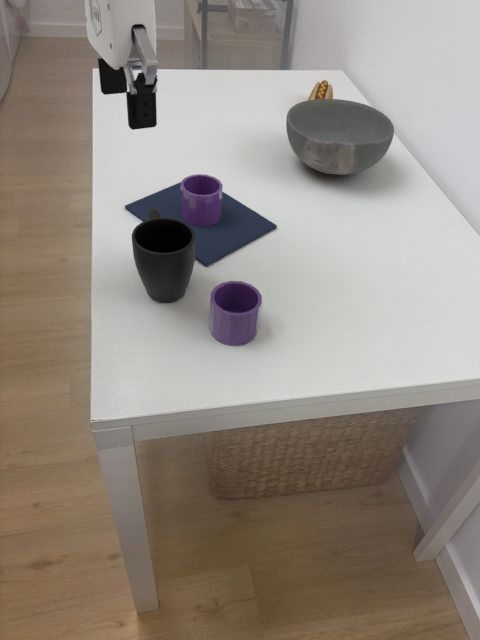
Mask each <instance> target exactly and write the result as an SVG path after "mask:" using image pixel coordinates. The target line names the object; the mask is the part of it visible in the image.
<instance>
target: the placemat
mask: <svg viewBox="0 0 480 640" xmlns="http://www.w3.org/2000/svg"><path fill="white" fill-rule="evenodd" d="M151 208H157V209H158V210H159V211H160V215H161V218H173V219H177V220H180V221H182V222H185V221H184V220H183V218H182V215H181V181H180V182H177V183H175V184H173V185H171V186H168V187H166V188H163V189H161V190H158V191H156V192H154V193H151V194H149V195H147V196H144V197H142V198H140V199H137V200H134V201H133V202H130V203H128V204H125V205H124V209H125V210H126V211H128V212H129V213H131V215H133V216H134V217H136V218H138V219H139V220H140V221H142V222H144V221H146V220H149V209H151ZM185 223H186V224H188V225H189V226H190V227H191V228H192V229H193V231H194V233H195V261H198V262H199V263H200V264H201V265H203V266H205V267H209V266H211V265H212V264H214V263H216V262H218V261H219V260H222V259H224V258H225V257H226V256H229V255H231V254H232V253H235V252H236V251H238V250H240V249H241V248H243V247H245V246H246V245H248V244H251V243H252V242H254V241H256V240H258V239H259V238H261V237H263V236H265V235H267V234H269V233H270V232H272V231H274V230H276V229H277V227H278V224H276V223H274V222H272V221H271V220H270V219H268V218H266V217H265V216H263V215H261V214H259V213H258V212H256V211H255V210H253V209H252V208H250V207H249V206H247V205H245V204H244V203H242V202H240V201H239V200H237V199H236V198H234V197H232V196H231V195H229V194H227V193H226V192H224V191H222V209H221V219H220V220H219V222H217V223H216V224H214V225H211V226H206V227H199V226H194V225H191V224H189V223H187V222H185Z"/></svg>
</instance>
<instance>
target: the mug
mask: <svg viewBox="0 0 480 640" xmlns="http://www.w3.org/2000/svg"><path fill="white" fill-rule="evenodd" d="M131 246H132V254H133V260H134V265H135V267H136V272H137V273H138V275H139V279H140V281H141V283H142V284H143V287H144V289H145V291H146V293H147V295H148V297H149V298H150V299H152V300H153V301H155V302H158V303H164V304H169V303H175V302H177V301H179V300H181V299H182V298H183V297H184V296H185V295H186V292H187V289H188V286H189V283H190V281H191V278H192V275H193V270H194V267H195V261H196V259H195V233H194V231H193V229H192V228H191V227H190V226H189V225H188V224H186V223H185V222H182V221H180V220H177V219H173V218H161V215H160V211H159V210H158V209H157V208H151V209H149V220H146V221H144V222H143V221H142V222H140V223H139V224H137V225H136V226H135V228H134V229H132V233H131Z"/></svg>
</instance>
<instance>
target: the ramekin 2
mask: <svg viewBox="0 0 480 640" xmlns="http://www.w3.org/2000/svg"><path fill="white" fill-rule="evenodd" d="M209 300H210V301H209V302H210V303H209V304H210V305H209V332H210V334H211V335H212V337H213V338H214V339H215V340H216V341H218V342H220V343H222V344H224V345H227V346H233V347H236V346H237V347H239V346H243V345H246V344H248V343H251V342H252V341H253V340H255V338H257V335H258V332H259V328H260V320H261V312H262V305H263V296H262V294H261V292H260V291H259V289H258V288H257V287H255V286H253V284H251V283H248V282H245V281H241V280H229V281H224V282H221V283H219V284H218V285H216V286H214V288H213V289H212V291H211V292H210V299H209Z"/></svg>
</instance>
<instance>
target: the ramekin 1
mask: <svg viewBox="0 0 480 640" xmlns="http://www.w3.org/2000/svg"><path fill="white" fill-rule="evenodd" d="M180 182H181V215H182V218H183V220H184V221H185V222H187V223H189V224H191V225H194V226H199V227H206V226H211V225H214V224H216V223H217V222H219V220H220V219H221V209H222V192H223V183H222V181H221V180H220V179H218V178H217V177H215V176H212V175H208V174H200V173H197V174H191V175H189V176H188V175H187V176H186V177H184V178H183V179H182V180H181V181H180Z"/></svg>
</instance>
